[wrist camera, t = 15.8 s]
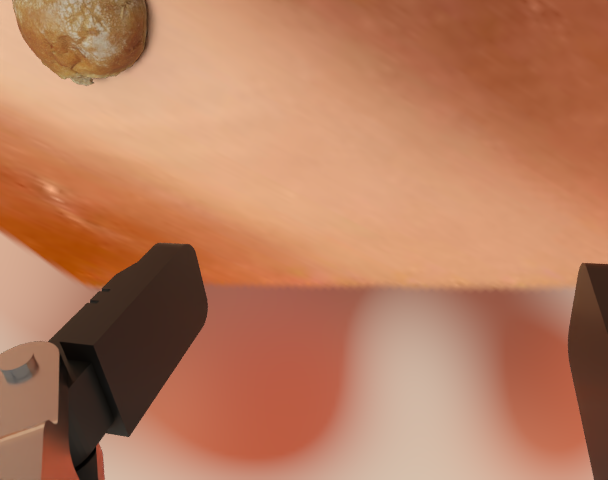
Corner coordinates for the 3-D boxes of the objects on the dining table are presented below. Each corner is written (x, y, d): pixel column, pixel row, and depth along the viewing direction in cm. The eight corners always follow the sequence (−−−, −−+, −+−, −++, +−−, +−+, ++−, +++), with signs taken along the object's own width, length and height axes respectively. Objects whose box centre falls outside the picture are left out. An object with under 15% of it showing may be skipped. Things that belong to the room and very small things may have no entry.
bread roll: (184, 14, 44) (159, -13, 36) (111, 112, 46) (72, 107, 38) (85, -71, 43) (38, -117, 35) (13, 33, 44) (-49, 11, 36)
